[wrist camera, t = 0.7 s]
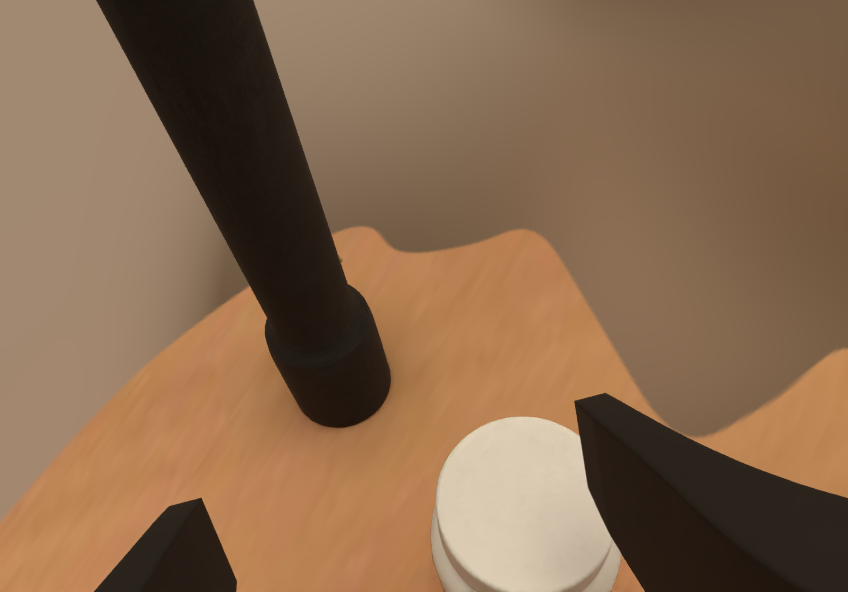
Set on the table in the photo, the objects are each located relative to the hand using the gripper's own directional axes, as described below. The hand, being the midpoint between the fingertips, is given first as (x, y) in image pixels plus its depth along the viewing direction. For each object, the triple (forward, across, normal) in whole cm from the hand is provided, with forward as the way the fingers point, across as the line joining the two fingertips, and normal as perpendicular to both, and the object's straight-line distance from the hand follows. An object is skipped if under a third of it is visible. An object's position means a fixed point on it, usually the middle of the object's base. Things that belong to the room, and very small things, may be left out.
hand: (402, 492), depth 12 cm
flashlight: (+20, +3, +8) cm, 22 cm away
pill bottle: (+11, -3, +14) cm, 18 cm away
